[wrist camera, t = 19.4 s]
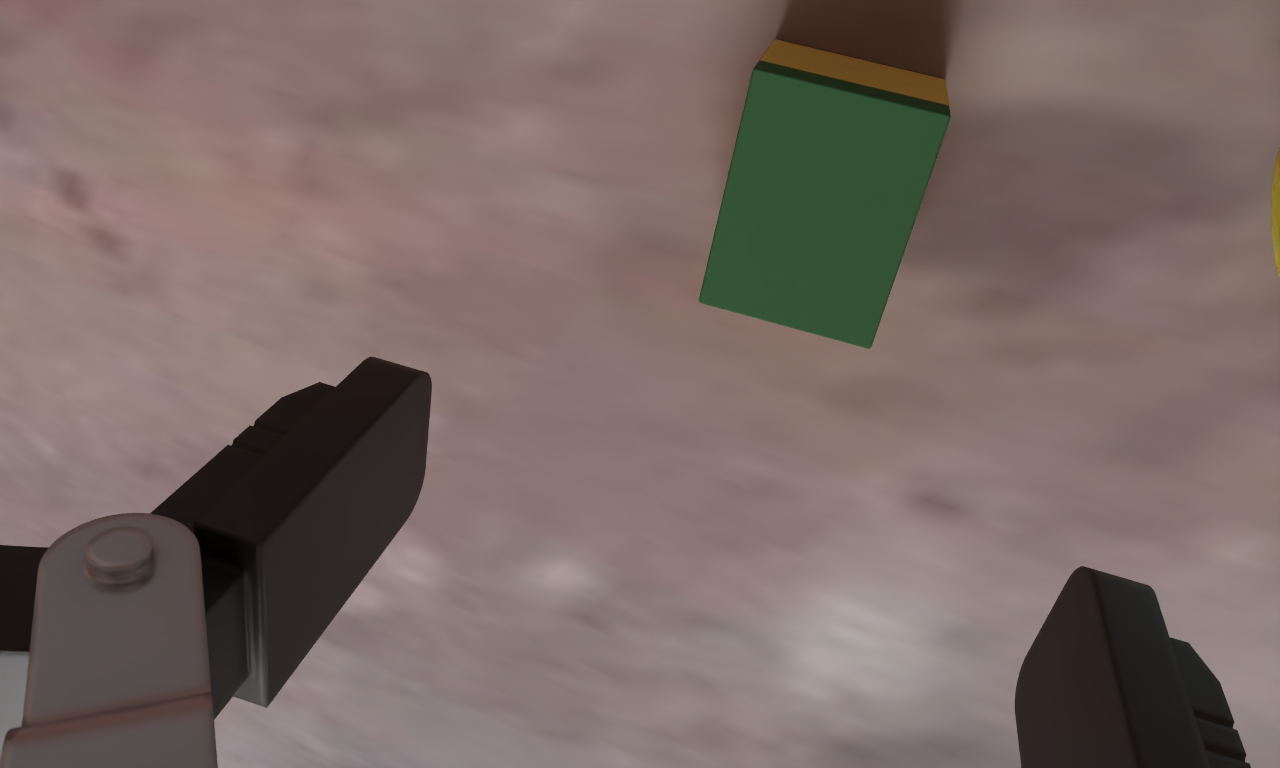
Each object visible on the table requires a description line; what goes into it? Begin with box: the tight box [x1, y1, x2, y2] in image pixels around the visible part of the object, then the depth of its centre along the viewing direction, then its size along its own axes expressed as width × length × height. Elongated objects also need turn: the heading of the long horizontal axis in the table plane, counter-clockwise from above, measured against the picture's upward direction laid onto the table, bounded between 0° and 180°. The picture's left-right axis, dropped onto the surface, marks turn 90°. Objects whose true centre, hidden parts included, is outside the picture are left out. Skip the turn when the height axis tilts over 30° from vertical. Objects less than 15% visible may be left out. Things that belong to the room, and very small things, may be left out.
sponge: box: [699, 39, 950, 349], centre depth 25 cm, size 6×4×4 cm
